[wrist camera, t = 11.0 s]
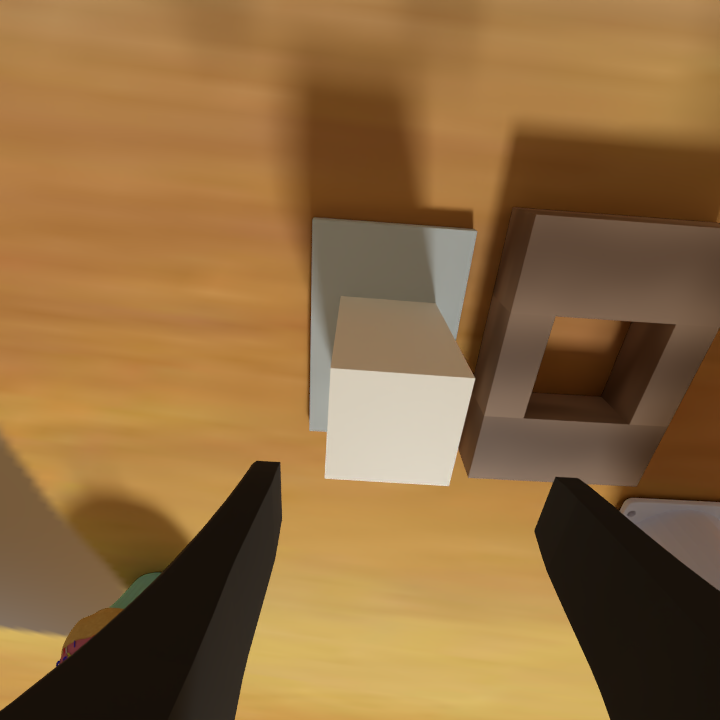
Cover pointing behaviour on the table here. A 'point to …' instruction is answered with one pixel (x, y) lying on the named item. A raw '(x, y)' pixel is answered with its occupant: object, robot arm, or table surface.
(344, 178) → the table surface
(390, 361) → the cream block
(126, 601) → the cupcake
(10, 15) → the table surface
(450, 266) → the grey mat
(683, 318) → the pocket board
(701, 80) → the table surface
